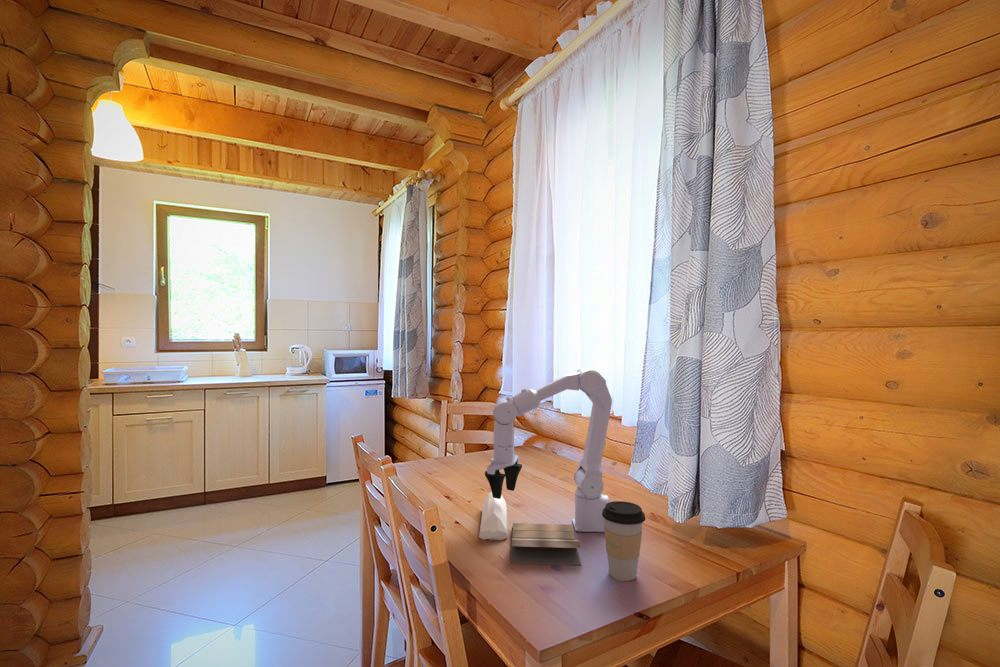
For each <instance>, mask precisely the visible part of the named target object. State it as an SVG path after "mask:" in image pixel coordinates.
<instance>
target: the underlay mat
mask: <svg viewBox="0 0 1000 667" xmlns="http://www.w3.org/2000/svg"><path fill="white" fill-rule="evenodd" d="M512 528H513V525H512V526H511V529H512ZM512 534H513V533H512V532H511V537H512V536H513V535H512ZM578 550H579V549H578V548H557V547H521V546H512V545H511V551H510V553H511V554H510V564H512V563H526V564H525V565H546V564H550V565H553V566H555V565H556V566H582V560H581V558H580V557H581V556H580V553H579V551H578ZM550 565H549V566H550Z"/></svg>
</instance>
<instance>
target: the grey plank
mask: <svg viewBox="0 0 1000 667" xmlns="http://www.w3.org/2000/svg"><path fill="white" fill-rule="evenodd" d="M512 546H521V547H557V548H577V549H581V541H580V540H578V539H575V540H557V539H520V538H512V537H511V547H512Z"/></svg>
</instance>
